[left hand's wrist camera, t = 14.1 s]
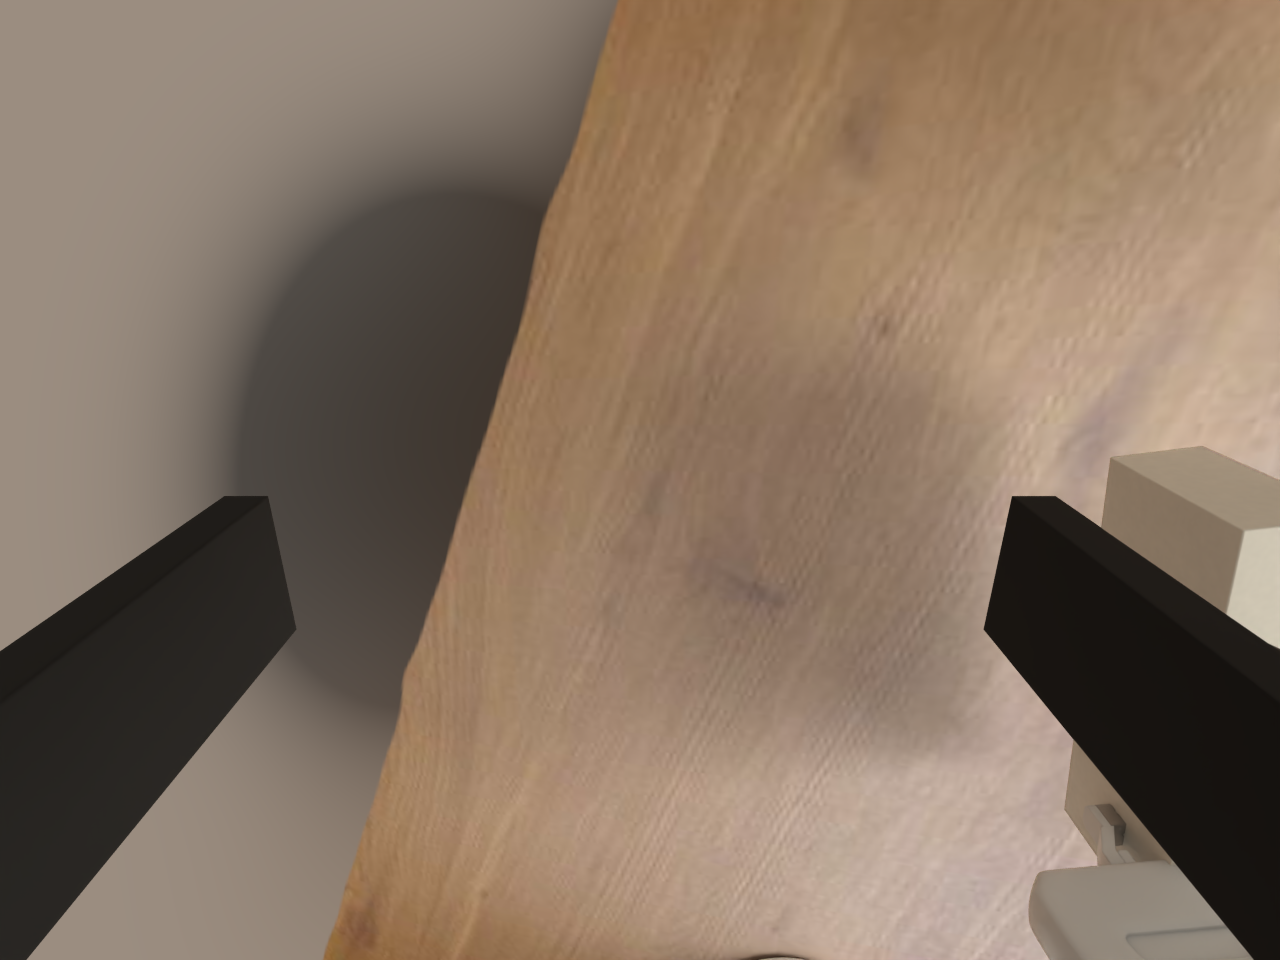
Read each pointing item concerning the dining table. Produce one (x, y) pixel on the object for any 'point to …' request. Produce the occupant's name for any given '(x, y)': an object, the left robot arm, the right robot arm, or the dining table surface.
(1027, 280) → the dining table surface
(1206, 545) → the bar
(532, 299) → the dining table surface
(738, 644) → the dining table surface
